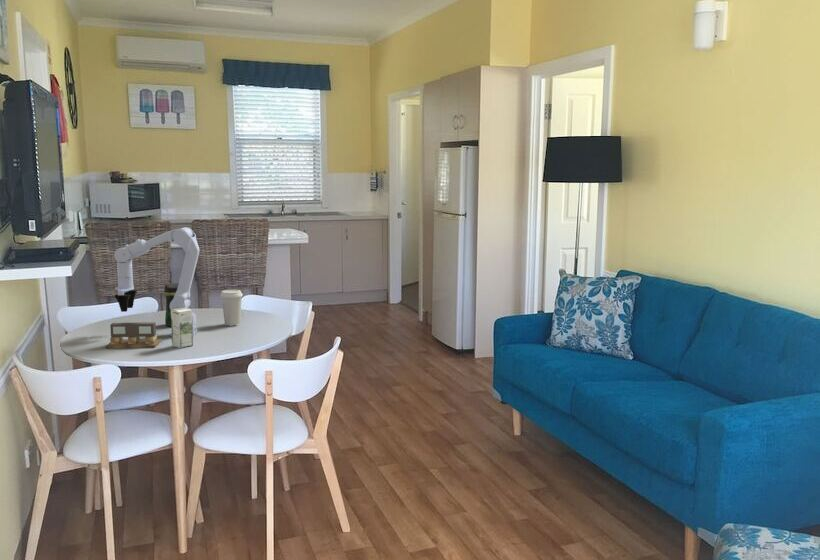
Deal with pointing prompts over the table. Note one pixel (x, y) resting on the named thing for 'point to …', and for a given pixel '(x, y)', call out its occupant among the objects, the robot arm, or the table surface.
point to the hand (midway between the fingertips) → (127, 309)
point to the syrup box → (182, 327)
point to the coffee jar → (169, 300)
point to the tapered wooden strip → (133, 329)
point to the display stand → (133, 342)
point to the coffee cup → (231, 306)
